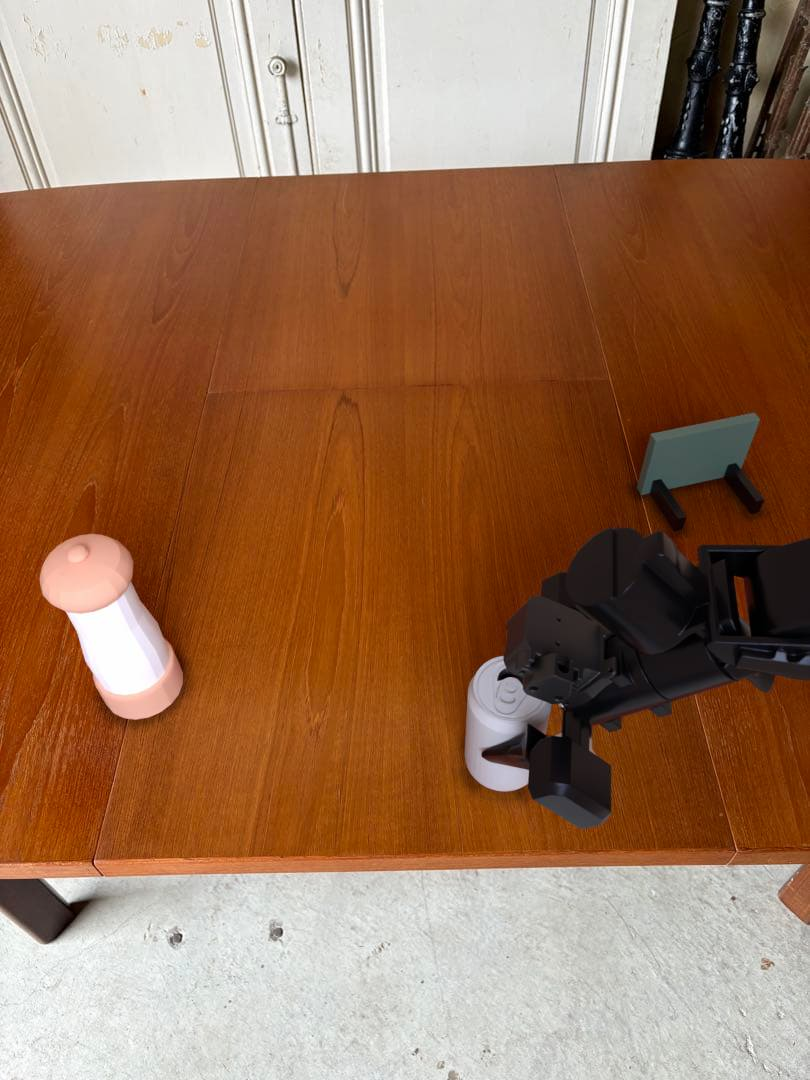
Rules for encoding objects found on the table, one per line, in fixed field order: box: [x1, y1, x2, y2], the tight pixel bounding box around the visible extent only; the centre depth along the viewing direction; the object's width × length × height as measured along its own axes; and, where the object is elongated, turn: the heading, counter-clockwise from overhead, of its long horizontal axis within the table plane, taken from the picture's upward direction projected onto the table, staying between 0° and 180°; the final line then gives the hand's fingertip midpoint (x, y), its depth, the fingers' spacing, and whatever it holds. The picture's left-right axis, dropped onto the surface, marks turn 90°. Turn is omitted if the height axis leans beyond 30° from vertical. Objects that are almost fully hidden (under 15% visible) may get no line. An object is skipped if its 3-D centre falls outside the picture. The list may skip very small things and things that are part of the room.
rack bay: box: [636, 412, 765, 532], centre depth 86 cm, size 7×12×8 cm, turn 105°
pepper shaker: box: [39, 533, 184, 721], centre depth 68 cm, size 7×7×19 cm
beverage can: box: [464, 655, 553, 792], centre depth 65 cm, size 6×6×12 cm
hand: (489, 719), depth 65 cm, fingers closed on beverage can, 6 cm apart
